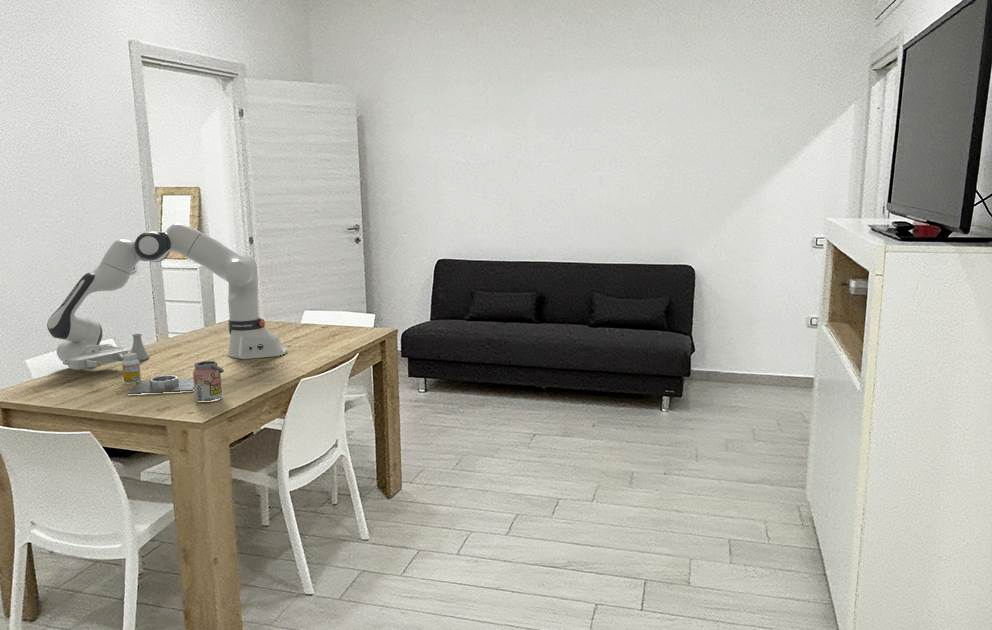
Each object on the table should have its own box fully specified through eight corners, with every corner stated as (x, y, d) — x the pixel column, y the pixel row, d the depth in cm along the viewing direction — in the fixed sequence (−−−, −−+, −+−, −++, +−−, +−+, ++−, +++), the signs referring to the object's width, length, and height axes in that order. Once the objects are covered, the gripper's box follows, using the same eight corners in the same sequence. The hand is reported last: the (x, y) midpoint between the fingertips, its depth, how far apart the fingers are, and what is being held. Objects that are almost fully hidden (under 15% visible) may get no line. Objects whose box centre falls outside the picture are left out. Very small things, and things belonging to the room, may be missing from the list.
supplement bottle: (127, 380, 276) (124, 352, 274) (143, 379, 276) (140, 352, 275) (121, 384, 271) (118, 356, 269) (137, 383, 271) (135, 355, 269)
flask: (141, 362, 302) (139, 336, 300) (124, 361, 303) (122, 335, 302) (153, 357, 309) (151, 332, 307) (136, 357, 310) (134, 332, 309)
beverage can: (210, 394, 257) (207, 358, 255) (230, 397, 254) (228, 360, 251) (189, 402, 248) (186, 365, 246) (210, 405, 245) (207, 367, 243)
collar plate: (199, 381, 273) (199, 371, 272) (192, 392, 259) (191, 382, 259) (138, 384, 269) (137, 374, 269) (127, 396, 256) (126, 385, 255)
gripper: (59, 353, 277) (81, 358, 270) (114, 343, 294) (136, 347, 287) (61, 371, 278) (82, 376, 271) (115, 359, 295) (137, 364, 288)
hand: (110, 361), depth 279 cm, fingers open, 8 cm apart
